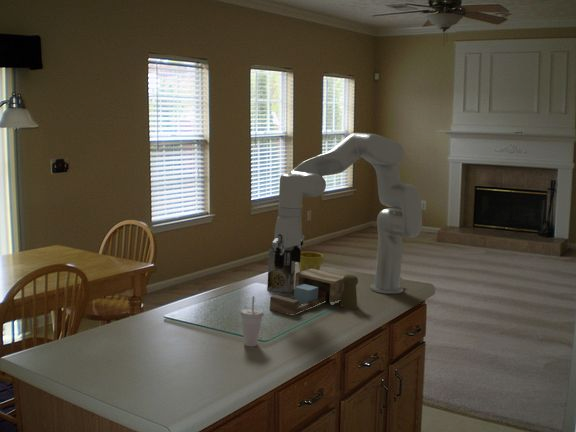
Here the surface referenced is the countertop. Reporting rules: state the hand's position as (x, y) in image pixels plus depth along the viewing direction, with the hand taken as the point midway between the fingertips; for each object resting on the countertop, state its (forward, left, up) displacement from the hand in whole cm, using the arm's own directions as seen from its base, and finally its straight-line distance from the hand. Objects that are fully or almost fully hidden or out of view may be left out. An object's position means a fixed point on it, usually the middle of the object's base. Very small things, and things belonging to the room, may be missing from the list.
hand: (287, 263), depth 215 cm
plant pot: (-45, -19, -16) cm, 51 cm away
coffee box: (-22, -17, -16) cm, 32 cm away
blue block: (-13, 0, -16) cm, 21 cm away
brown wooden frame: (-9, 0, -16) cm, 18 cm away
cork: (-21, +12, -16) cm, 30 cm away
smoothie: (+32, +10, -16) cm, 38 cm away
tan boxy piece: (-23, 0, -16) cm, 28 cm away
